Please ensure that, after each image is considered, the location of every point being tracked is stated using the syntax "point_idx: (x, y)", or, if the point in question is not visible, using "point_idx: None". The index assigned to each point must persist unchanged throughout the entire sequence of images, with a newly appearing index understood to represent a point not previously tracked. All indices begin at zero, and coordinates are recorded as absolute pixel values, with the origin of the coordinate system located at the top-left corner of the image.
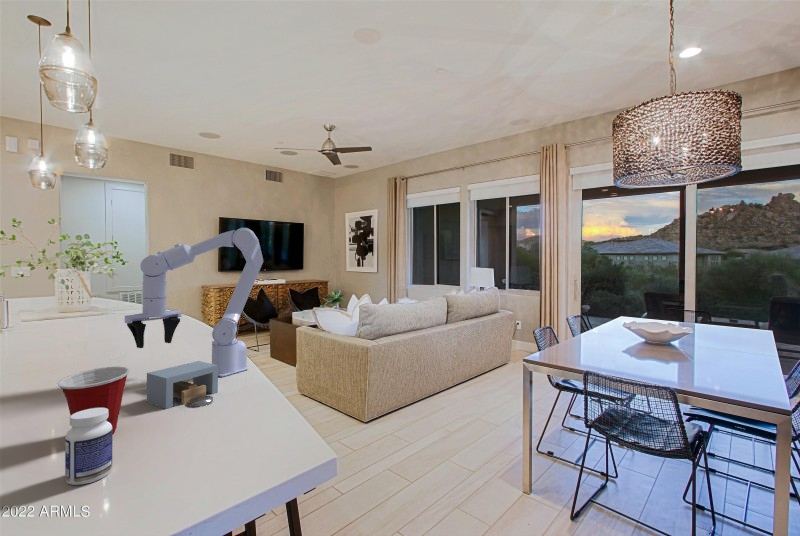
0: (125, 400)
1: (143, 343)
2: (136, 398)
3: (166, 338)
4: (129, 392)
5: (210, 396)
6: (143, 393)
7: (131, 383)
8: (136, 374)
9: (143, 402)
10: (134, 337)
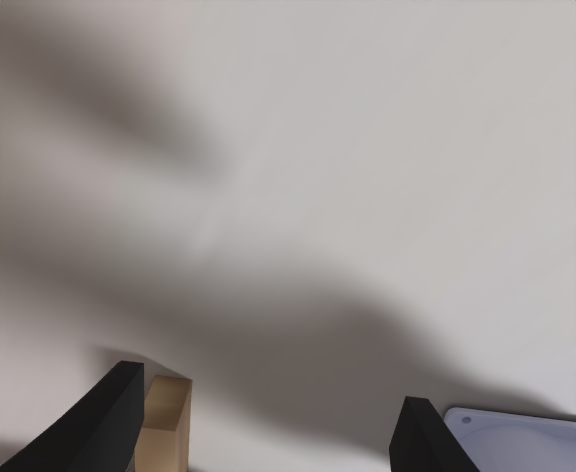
0: (30, 407)
1: (124, 464)
2: None
3: (410, 456)
4: (83, 343)
5: None
6: None
7: (160, 229)
8: (292, 68)
9: None
10: (42, 442)
